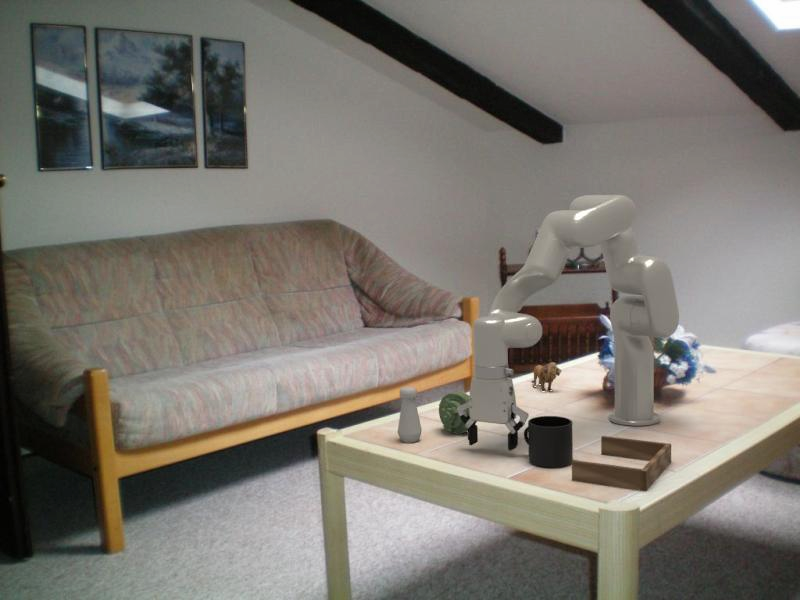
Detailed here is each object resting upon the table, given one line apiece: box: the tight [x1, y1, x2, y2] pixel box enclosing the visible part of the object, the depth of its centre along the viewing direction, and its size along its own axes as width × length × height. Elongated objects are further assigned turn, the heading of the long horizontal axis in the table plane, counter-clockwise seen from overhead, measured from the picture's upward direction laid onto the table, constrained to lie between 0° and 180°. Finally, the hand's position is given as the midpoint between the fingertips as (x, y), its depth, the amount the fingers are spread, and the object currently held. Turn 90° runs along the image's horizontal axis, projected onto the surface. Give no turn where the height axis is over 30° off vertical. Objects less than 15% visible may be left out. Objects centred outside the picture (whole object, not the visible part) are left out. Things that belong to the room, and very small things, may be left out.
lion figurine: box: [530, 362, 563, 392], centre depth 256 cm, size 15×5×9 cm, turn 21°
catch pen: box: [571, 435, 672, 492], centre depth 181 cm, size 20×15×4 cm
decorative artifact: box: [438, 391, 477, 435], centre depth 212 cm, size 10×7×10 cm
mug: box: [523, 415, 574, 469], centre depth 189 cm, size 9×12×9 cm
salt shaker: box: [397, 386, 423, 444], centre depth 208 cm, size 6×6×13 cm
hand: (492, 446), depth 196 cm, fingers open, 9 cm apart
